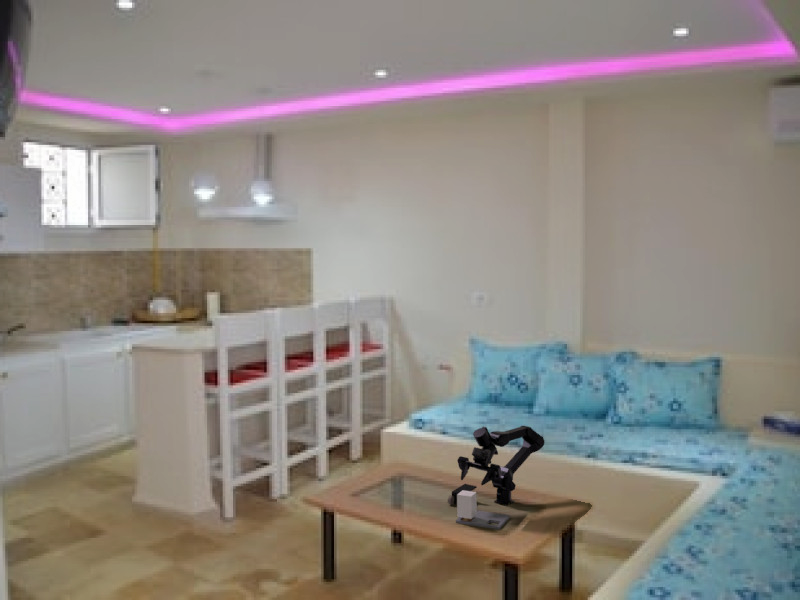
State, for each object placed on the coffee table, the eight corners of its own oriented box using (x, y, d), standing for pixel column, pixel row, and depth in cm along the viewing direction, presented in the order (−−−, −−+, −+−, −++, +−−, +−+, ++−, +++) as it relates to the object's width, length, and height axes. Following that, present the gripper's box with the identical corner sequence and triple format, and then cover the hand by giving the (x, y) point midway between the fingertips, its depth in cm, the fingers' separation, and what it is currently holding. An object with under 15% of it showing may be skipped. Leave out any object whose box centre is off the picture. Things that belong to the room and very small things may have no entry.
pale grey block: (462, 517, 289) (462, 490, 288) (476, 519, 286) (476, 492, 286) (457, 522, 284) (457, 494, 283) (471, 524, 281) (471, 496, 280)
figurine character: (461, 514, 301) (478, 500, 313) (460, 497, 300) (477, 484, 312) (447, 512, 305) (464, 498, 317) (446, 495, 304) (463, 481, 316)
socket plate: (468, 515, 296) (468, 509, 296) (509, 521, 288) (509, 515, 288) (455, 526, 283) (455, 520, 283) (499, 533, 276) (499, 526, 276)
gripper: (462, 437, 302) (447, 463, 292) (503, 445, 293) (489, 473, 282) (467, 455, 308) (452, 482, 298) (507, 464, 299) (493, 492, 288)
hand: (471, 482), depth 291 cm, fingers open, 9 cm apart
